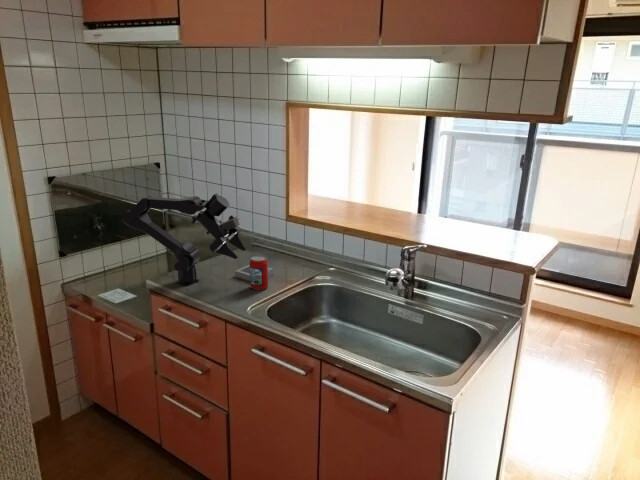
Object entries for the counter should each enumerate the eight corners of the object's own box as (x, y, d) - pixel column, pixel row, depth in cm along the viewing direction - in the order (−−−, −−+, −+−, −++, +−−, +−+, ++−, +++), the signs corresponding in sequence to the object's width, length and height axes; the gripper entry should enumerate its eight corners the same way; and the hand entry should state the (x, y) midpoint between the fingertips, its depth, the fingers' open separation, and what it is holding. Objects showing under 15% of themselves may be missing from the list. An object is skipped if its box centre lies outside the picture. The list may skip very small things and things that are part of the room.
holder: (255, 282, 195) (255, 276, 194) (235, 276, 201) (234, 270, 200) (273, 274, 204) (273, 268, 203) (253, 268, 209) (253, 263, 209)
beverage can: (246, 287, 190) (245, 258, 187) (260, 282, 195) (259, 253, 192) (258, 292, 186) (257, 262, 182) (272, 287, 191) (271, 257, 187)
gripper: (215, 216, 175) (246, 248, 176) (234, 204, 192) (262, 233, 194) (195, 236, 179) (226, 267, 180) (215, 222, 196) (243, 251, 198)
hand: (241, 254), depth 188 cm, fingers open, 9 cm apart
